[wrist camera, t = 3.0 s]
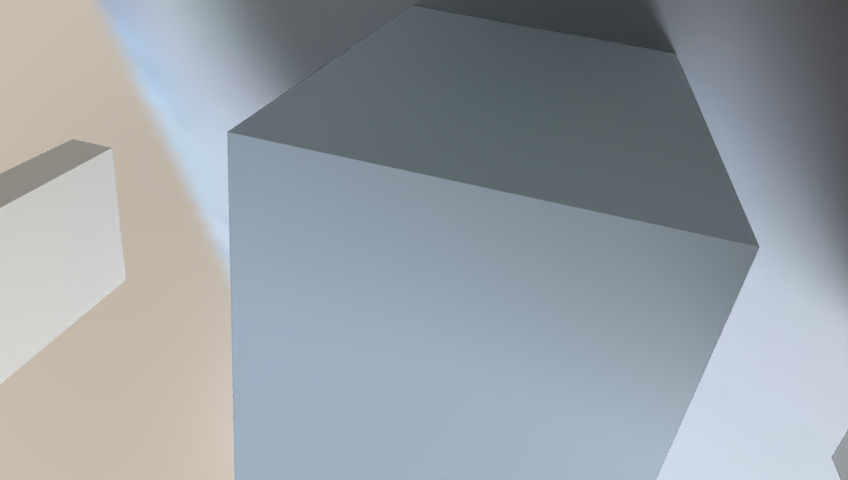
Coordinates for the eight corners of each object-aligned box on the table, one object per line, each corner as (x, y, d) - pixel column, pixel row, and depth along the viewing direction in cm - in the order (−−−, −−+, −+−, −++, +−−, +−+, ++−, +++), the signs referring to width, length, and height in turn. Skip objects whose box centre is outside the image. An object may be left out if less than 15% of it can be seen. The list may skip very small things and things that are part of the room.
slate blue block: (413, 5, 15) (227, 132, 8) (675, 53, 15) (758, 246, 7) (387, 229, 18) (234, 480, 11) (604, 279, 18) (607, 589, 10)
